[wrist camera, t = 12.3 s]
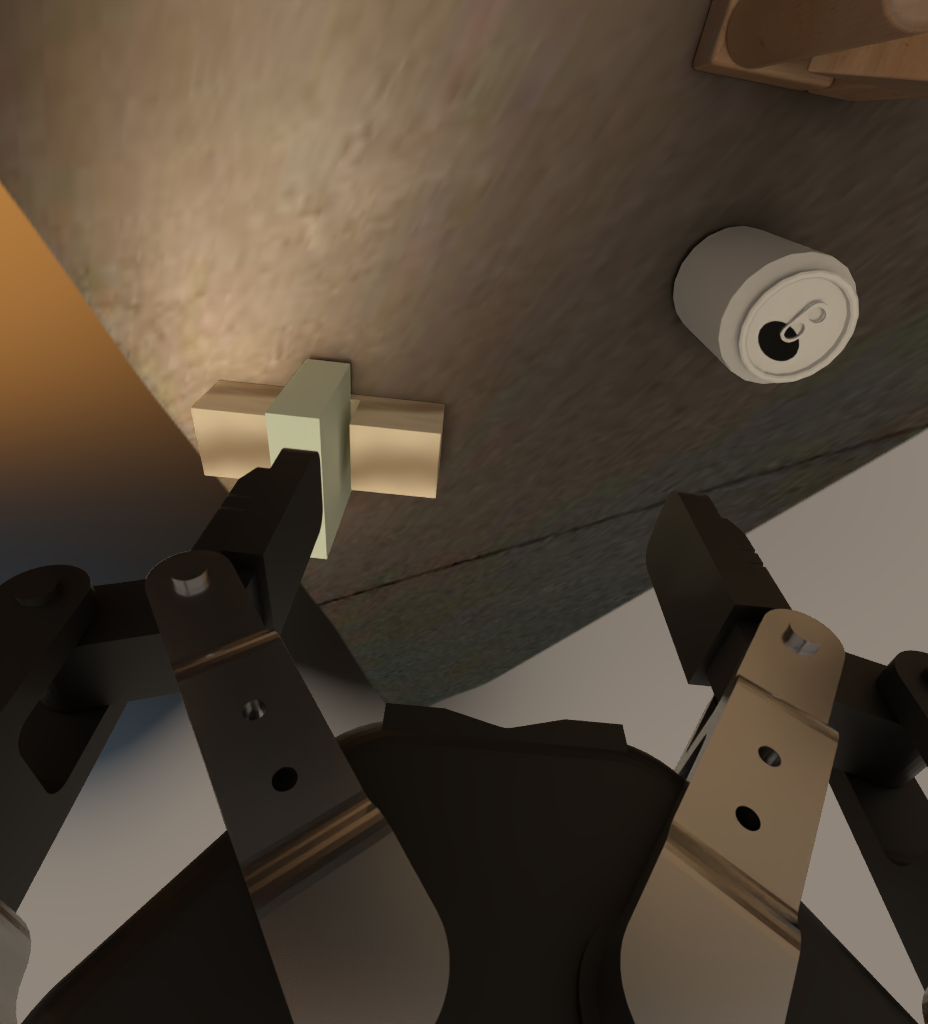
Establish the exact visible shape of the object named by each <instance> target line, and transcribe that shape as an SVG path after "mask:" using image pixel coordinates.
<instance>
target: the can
mask: <svg viewBox="0 0 928 1024" xmlns="http://www.w3.org/2000/svg"><path fill="white" fill-rule="evenodd" d="M673 300H674V305H675V309H676V313H677V315H678V316H679V318H680V319H681V321H682V322H683V324H684V325H685V326H686V327H687V328H688V329H689V330H690V331H691V332H692V333H693V334H694V335H695V336H696V337H697V338H698V339H699V340H700V341H701V342H702V343H703V344H704V345H705V346H706V347H707V348H708V349H709V350H710V351H711V352H712V353H713V354H714V355H715V356H716V357H717V358H718V359H719V360H720V361H721V362H722V363H723V364H724V365H725V366H726V367H727V368H728V369H730V370H731V371H732V372H733V373H735V374H736V375H738V376H740V377H741V378H743V379H744V380H747V381H752V382H757V383H761V384H765V383H783V382H794V381H797V380H799V379H802V378H805V377H808V376H810V375H812V374H814V373H816V372H817V371H819V370H820V369H822V368H823V367H825V366H826V365H828V364H829V363H830V362H831V361H832V360H833V359H834V358H835V357H836V356H837V355H838V354H839V353H840V352H841V351H842V350H843V349H844V347H845V346H846V344H847V342H848V341H849V339H850V338H851V336H852V334H853V333H854V329H855V326H856V323H857V319H858V316H859V307H858V297H857V295H856V284H855V282H854V280H853V278H852V276H851V274H850V272H849V270H848V268H847V267H846V266H844V265H843V264H842V263H840V262H839V261H838V260H837V259H835V258H834V257H833V256H830V255H827V254H825V253H822V252H819V251H817V250H814V249H811V248H809V247H806V246H803V245H800V244H798V243H795V242H792V241H790V240H787V239H784V238H782V237H779V236H776V235H774V234H771V233H768V232H766V231H763V230H760V229H756V228H752V227H748V226H738V227H730V228H725V229H723V230H721V231H718V232H716V233H714V234H712V235H709V236H708V237H707V238H706V239H704V240H703V241H702V242H701V243H699V244H698V245H697V246H696V247H694V248H693V250H692V251H691V252H690V254H689V255H688V256H687V258H686V259H685V260H684V262H683V263H682V265H681V267H680V270H679V272H678V274H677V277H676V279H675V283H674V293H673Z"/></svg>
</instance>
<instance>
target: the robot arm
mask: <svg viewBox="0 0 928 1024" xmlns="http://www.w3.org/2000/svg"><path fill="white" fill-rule="evenodd" d="M322 517H323V501H322V483H321V465H320V456H319V453H318V452H317V451H310V450H301V449H292V448H283V449H282V450H281V451H280V453H279V455H278V456H277V458H276V460H275V461H274V463H273V464H272V466H271V468H262V467H256V468H255V469H253V470H252V471H250V472H249V473H247V474H246V475H244V476H243V477H241V478H240V479H239V480H238V481H237V483H236V484H235V486H234V487H233V489H232V490H231V492H230V493H229V497H227V498H226V499H225V501H224V502H223V503H222V505H221V509H219V510H218V511H217V513H216V514H215V516H214V517H213V518H212V520H211V521H210V523H209V524H208V526H207V527H206V529H205V530H204V532H203V533H202V535H201V536H200V538H199V539H198V541H197V542H196V544H195V545H194V547H193V548H192V550H191V551H187V552H182V553H178V554H176V555H173V556H171V557H169V558H166V559H165V560H163V561H161V562H160V563H159V564H157V565H156V566H155V567H154V568H153V569H152V570H151V571H150V573H149V574H148V575H147V577H146V579H143V580H138V581H131V582H122V583H114V584H106V585H98V586H93V585H92V582H91V580H90V577H89V576H88V574H87V573H86V572H85V571H84V570H82V569H80V568H78V567H74V566H70V565H49V566H44V567H39V568H35V569H31V570H29V571H26V572H23V573H21V574H18V575H16V576H14V577H13V578H11V579H9V580H7V581H6V582H4V583H3V584H2V585H0V1024H17V1018H16V1000H17V995H18V991H19V986H20V984H21V981H22V978H23V975H24V972H25V970H26V967H27V964H28V960H29V956H30V951H31V939H30V932H29V930H28V927H27V925H26V923H25V922H24V921H23V920H22V918H20V917H19V916H18V915H17V914H16V911H17V909H18V907H19V906H20V904H21V902H22V900H23V898H24V896H25V894H26V892H27V891H28V889H29V887H30V885H31V883H32V881H33V879H34V877H35V876H36V874H37V871H38V870H39V868H40V866H41V864H42V862H43V860H44V859H45V857H46V855H47V853H48V851H49V849H50V847H51V845H52V844H53V842H54V840H55V838H56V836H57V834H58V832H59V830H60V828H61V827H62V825H63V823H64V821H65V819H66V817H67V815H68V813H69V812H70V810H71V808H72V806H73V804H74V802H75V800H76V798H77V797H78V794H79V793H80V791H81V789H82V787H83V785H84V783H85V781H86V780H87V778H88V776H89V774H90V772H91V770H92V768H93V766H94V765H95V763H96V761H97V759H98V757H99V755H100V753H101V751H102V749H103V748H104V746H105V744H106V742H107V740H108V738H109V736H110V734H111V733H112V731H113V729H114V727H115V725H116V723H117V721H118V719H119V717H120V716H121V714H122V712H123V710H124V708H125V706H126V704H127V702H128V701H133V700H139V699H143V698H149V697H155V696H160V695H165V694H170V693H176V692H180V694H181V697H182V700H183V703H184V706H185V709H186V712H187V715H188V718H189V721H190V724H191V726H192V729H193V732H194V735H195V738H196V741H197V744H198V747H199V750H200V753H201V755H202V759H203V762H204V765H205V767H206V770H207V773H208V776H209V779H210V782H211V785H212V788H213V791H214V794H215V797H216V800H217V803H218V805H219V809H220V812H221V814H222V817H223V820H224V823H225V826H226V829H227V830H226V831H225V832H224V833H223V834H222V835H221V836H220V837H219V838H218V839H217V840H215V841H214V842H213V843H212V844H211V845H210V846H209V847H208V848H207V849H205V850H204V851H203V852H202V853H201V854H200V855H199V856H198V857H197V858H196V859H195V860H193V861H192V862H191V863H190V864H189V865H188V866H187V867H186V868H185V869H183V870H182V871H181V872H180V873H179V874H178V875H177V876H176V877H175V878H173V879H172V880H171V881H170V882H169V883H168V884H167V885H166V886H165V887H164V888H162V889H161V890H160V891H159V892H158V893H157V894H156V895H155V896H154V897H152V898H151V899H150V900H149V901H148V902H147V903H146V904H145V905H144V906H143V907H141V908H140V910H138V911H137V912H136V913H135V914H134V915H133V916H131V917H130V918H129V919H128V920H127V921H126V922H125V923H124V924H123V925H122V926H120V927H119V928H118V929H117V930H116V931H115V932H114V933H113V934H112V935H111V936H109V937H108V938H107V939H106V940H105V941H104V942H103V943H102V944H101V945H99V946H98V947H97V949H95V950H94V951H93V952H92V953H91V954H89V955H88V956H87V957H86V958H85V959H84V960H83V961H82V962H81V963H80V964H78V965H77V966H76V967H75V968H74V969H73V970H72V971H71V972H70V973H68V975H66V976H65V977H64V978H63V979H62V980H61V981H60V982H59V983H58V984H56V985H55V986H54V987H53V988H52V989H51V990H50V991H49V992H48V993H47V994H46V995H45V997H44V998H42V1000H41V1001H40V1002H39V1003H38V1004H37V1005H36V1006H35V1008H34V1009H33V1010H32V1011H31V1012H30V1013H29V1015H28V1016H27V1017H26V1018H25V1020H24V1021H23V1022H22V1023H21V1024H918V1023H917V1022H916V1021H915V1020H914V1019H913V1018H912V1017H911V1016H910V1014H909V1013H907V1011H906V1010H905V1009H904V1008H903V1007H902V1006H901V1005H900V1004H899V1003H898V1002H897V1001H896V1000H895V999H894V998H893V997H892V996H891V995H890V994H889V993H888V991H886V989H885V988H884V987H882V985H881V984H880V983H879V982H878V981H877V980H876V979H875V978H874V977H873V976H872V975H871V974H870V973H869V972H868V971H867V970H866V968H865V967H864V966H863V965H862V964H861V963H860V962H859V961H858V960H857V959H856V958H855V957H854V956H853V955H852V954H851V953H850V952H849V951H848V950H847V949H846V947H844V945H843V944H842V943H841V942H840V941H839V940H838V939H837V938H836V937H835V936H834V935H833V934H832V933H831V932H830V931H829V930H828V929H827V928H826V927H825V926H824V925H823V923H822V922H821V921H820V920H819V919H818V918H817V917H816V916H815V915H814V914H813V913H812V912H811V911H810V910H809V909H808V908H807V907H806V906H805V905H804V904H803V902H802V901H801V897H802V893H803V889H804V884H805V880H806V876H807V872H808V868H809V863H810V859H811V855H812V850H813V846H814V842H815V838H816V834H817V829H818V825H819V821H820V817H821V812H822V808H823V804H824V800H825V795H826V791H827V787H828V783H829V784H830V786H831V788H832V790H833V792H834V795H835V797H836V799H837V801H838V803H839V805H840V807H841V810H842V812H843V814H844V816H845V819H846V821H847V823H848V825H849V827H850V829H851V832H852V834H853V836H854V838H855V840H856V842H857V844H858V847H859V849H860V851H861V853H862V856H863V858H864V860H865V862H866V864H867V866H868V869H869V871H870V873H871V875H872V877H873V879H874V882H875V884H876V886H877V888H878V890H879V893H880V895H881V896H882V899H883V901H884V903H885V905H886V908H887V910H888V912H889V914H890V917H891V919H892V921H893V923H894V925H895V927H896V929H897V932H898V934H899V936H900V938H901V940H902V943H903V945H904V947H905V949H906V951H907V953H908V956H909V958H910V960H911V962H912V964H913V967H914V969H915V971H916V973H917V975H918V977H919V979H920V982H921V984H922V986H923V988H924V990H925V993H924V995H923V1001H922V1011H923V1018H924V1023H925V1024H928V800H927V798H926V796H925V795H924V793H923V791H922V789H921V788H920V786H919V784H918V783H917V781H916V779H915V776H916V775H917V774H918V773H919V772H921V771H922V770H923V769H924V768H925V767H928V653H924V652H919V651H904V652H901V653H899V654H898V655H897V656H896V657H895V658H894V659H893V660H892V661H891V662H890V664H889V665H888V666H885V665H882V664H879V663H876V662H873V661H870V660H867V659H864V658H861V657H858V656H855V655H852V654H849V653H846V652H845V651H844V648H843V645H842V644H841V642H840V640H839V639H838V638H837V637H836V635H835V634H834V633H833V632H832V631H831V630H830V629H829V628H827V627H826V626H825V625H824V624H822V623H820V622H819V621H818V620H816V619H814V618H812V617H810V616H808V615H806V614H803V613H801V612H798V611H794V610H792V609H791V607H790V606H789V604H788V603H787V601H786V599H785V598H784V596H783V595H782V593H781V591H780V590H779V588H778V586H777V585H776V583H775V582H774V580H773V578H772V577H771V575H770V574H769V572H768V570H767V569H766V567H763V562H762V561H761V559H760V558H759V556H758V554H756V553H755V549H754V548H753V546H752V545H751V543H750V541H749V540H748V538H747V537H746V535H745V534H744V533H743V532H742V531H741V530H740V529H739V528H737V527H736V526H735V525H734V524H733V523H732V522H730V521H729V520H728V519H725V518H721V516H720V515H719V513H718V511H717V509H716V508H715V506H714V504H713V503H712V501H711V499H710V498H709V497H708V496H707V495H703V494H693V493H684V492H675V491H674V492H671V493H670V494H669V495H668V497H667V499H666V501H665V503H664V506H663V508H662V511H661V513H660V516H659V518H658V520H657V523H656V525H655V528H654V530H653V533H652V535H651V538H650V540H649V543H648V546H647V551H646V566H647V570H648V573H649V576H650V578H651V581H652V584H653V587H654V590H655V592H656V595H657V598H658V601H659V603H660V606H661V609H662V611H663V615H664V617H665V620H666V623H667V626H668V629H669V631H670V634H671V637H672V640H673V643H674V645H675V648H676V651H677V654H678V656H679V659H680V662H681V665H682V667H683V670H684V673H685V676H686V679H687V682H688V684H693V685H704V686H711V687H712V690H713V692H714V695H713V697H712V698H711V700H710V702H709V703H708V704H707V706H706V708H705V710H704V712H703V714H702V716H701V718H700V720H699V722H698V724H697V726H696V728H695V730H694V732H693V734H692V736H691V738H690V740H689V742H688V744H687V746H686V748H685V750H684V752H683V754H682V756H681V758H680V760H679V762H678V764H677V766H676V768H675V770H672V769H671V768H670V767H668V766H667V765H665V764H664V763H662V762H661V761H660V760H658V759H656V758H654V757H653V756H651V755H649V754H647V753H646V752H643V751H641V750H639V749H637V748H635V747H632V746H629V745H627V743H626V738H625V734H624V730H623V725H620V724H610V723H599V722H588V721H577V720H558V721H552V722H546V723H540V724H534V725H527V726H521V727H514V728H503V727H499V726H496V725H492V724H490V723H487V722H484V721H481V720H478V719H474V718H472V717H469V716H466V715H463V714H460V713H457V712H454V711H451V710H448V709H445V708H434V707H424V706H413V705H402V704H391V703H386V707H385V713H384V719H383V722H377V723H372V724H368V725H364V726H361V727H357V728H355V729H353V730H350V731H348V732H345V733H343V734H341V735H339V736H337V737H334V735H333V734H332V732H331V730H330V728H329V726H328V725H327V722H326V721H325V719H324V717H323V715H322V713H321V711H320V710H319V708H318V706H317V704H316V702H315V700H314V698H313V697H312V695H311V693H310V691H309V689H308V687H307V685H306V684H305V682H304V680H303V678H302V676H301V675H300V673H299V671H298V669H297V667H296V665H295V663H294V661H293V660H292V658H291V656H290V654H289V652H288V650H287V649H286V647H285V645H284V644H283V641H282V639H281V638H280V636H279V635H280V633H281V630H282V628H283V625H284V622H285V620H286V617H287V614H288V612H289V610H290V607H291V605H292V602H293V599H294V597H295V594H296V592H297V589H298V587H299V584H300V582H301V579H302V577H303V574H304V571H305V569H306V566H307V564H308V561H309V559H310V556H311V554H312V551H313V549H314V546H315V543H316V541H317V538H318V536H319V533H320V529H321V524H322Z"/></svg>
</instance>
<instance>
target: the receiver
mask: <svg viewBox="0 0 928 1024" xmlns="http://www.w3.org/2000/svg"><path fill="white" fill-rule="evenodd" d="M283 388H284V387H280V386H270V385H261V384H251V383H242V382H233V381H223V380H219V381H218V382H217V383H216V384H215V385H214V386H213V387H212V388H211V389H210V390H209V391H208V392H207V393H206V394H205V395H204V396H202V397H201V398H200V399H199V400H198V401H197V402H196V403H195V404H194V405H193V406H192V407H191V412H192V417H193V422H194V426H195V431H196V436H197V441H198V445H199V450H200V455H201V460H202V464H203V469H204V474H205V475H208V476H218V477H228V478H238V479H240V478H241V477H243V476H244V475H246V474H247V473H249V472H250V471H252V470H253V469H255V468H256V467H262V468H271V461H270V452H269V444H268V435H267V427H266V418H265V412H266V411H267V409H268V408H269V407H270V406H271V404H272V403H273V402H274V400H275V399H276V398H277V396H278V395H279V394H280V392H281V391H282V390H283ZM444 410H445V404H440V403H430V402H421V401H412V400H402V399H393V398H383V397H374V396H364V395H355V394H351V422H350V461H351V490H358V491H368V492H378V493H388V494H398V495H408V496H418V497H428V498H435V497H436V490H437V482H438V474H439V466H440V456H441V444H442V433H443V421H444Z"/></svg>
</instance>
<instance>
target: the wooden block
mask: <svg viewBox="0 0 928 1024" xmlns="http://www.w3.org/2000/svg"><path fill="white" fill-rule="evenodd" d="M693 68H694V69H695V70H698V71H703V72H708V73H713V74H718V75H723V76H728V77H733V78H738V79H743V80H748V81H753V82H758V83H763V84H768V85H773V86H778V87H783V88H788V89H793V90H798V91H803V90H807V91H808V92H809V93H812V94H817V95H822V96H827V97H832V98H837V99H842V100H847V101H852V102H858V101H873V100H887V99H902V98H917V97H925V96H926V97H928V0H713V1H712V4H711V7H710V10H709V14H708V17H707V20H706V23H705V27H704V30H703V33H702V36H701V40H700V43H699V46H698V49H697V52H696V56H695V59H694V62H693Z"/></svg>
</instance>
